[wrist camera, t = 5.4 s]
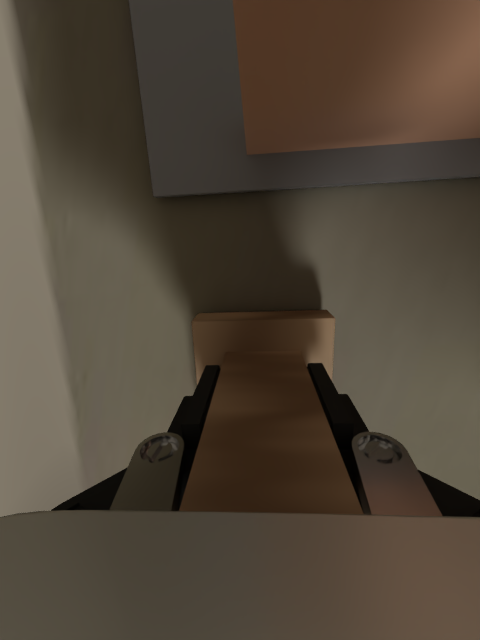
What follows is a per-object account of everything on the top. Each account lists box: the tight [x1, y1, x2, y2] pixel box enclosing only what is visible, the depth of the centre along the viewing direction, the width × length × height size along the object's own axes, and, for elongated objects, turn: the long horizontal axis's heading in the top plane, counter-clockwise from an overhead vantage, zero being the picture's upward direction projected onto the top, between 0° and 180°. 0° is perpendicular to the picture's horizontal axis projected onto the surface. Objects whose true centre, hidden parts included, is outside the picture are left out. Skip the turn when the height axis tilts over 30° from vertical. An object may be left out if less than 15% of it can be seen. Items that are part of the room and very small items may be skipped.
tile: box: [233, 0, 480, 155], centre depth 7 cm, size 10×1×8 cm, turn 93°
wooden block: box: [179, 310, 364, 514], centre depth 9 cm, size 6×6×10 cm
